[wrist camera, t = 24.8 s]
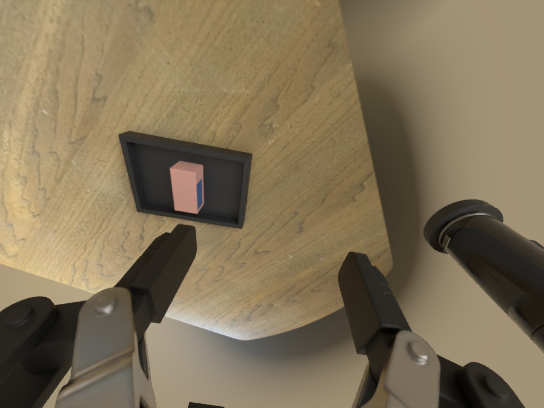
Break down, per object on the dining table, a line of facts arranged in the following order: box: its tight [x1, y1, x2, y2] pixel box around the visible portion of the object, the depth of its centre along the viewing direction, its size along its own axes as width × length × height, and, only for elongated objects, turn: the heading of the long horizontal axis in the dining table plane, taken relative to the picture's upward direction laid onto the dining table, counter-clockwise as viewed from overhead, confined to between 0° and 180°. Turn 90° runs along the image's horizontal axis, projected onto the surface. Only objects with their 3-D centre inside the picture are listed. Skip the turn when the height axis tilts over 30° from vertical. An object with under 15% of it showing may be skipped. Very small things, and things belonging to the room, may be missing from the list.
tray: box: [119, 131, 252, 229], centre depth 30 cm, size 18×13×2 cm
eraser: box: [170, 161, 204, 214], centre depth 29 cm, size 4×7×3 cm, turn 170°
